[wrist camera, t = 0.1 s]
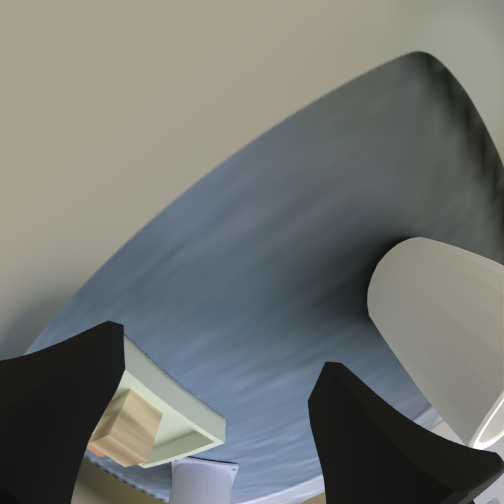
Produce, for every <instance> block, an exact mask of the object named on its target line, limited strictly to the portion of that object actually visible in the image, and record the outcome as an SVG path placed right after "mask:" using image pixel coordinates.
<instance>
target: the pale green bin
mask: <svg viewBox="0 0 504 504" xmlns="http://www.w3.org/2000/svg"><path fill="white" fill-rule="evenodd" d="M124 353H125V371H124V374H123V376H122V379H121V381H120V384H119V386H118V389H117V391H116V393H115V394H114V396H113V398H112V400H114V399H115V398H117V397H119V396H120V395H122V394H123V393H125V392H127V391H128V390H130V389H132V390H133V391H134V392H136V393H137V394H138V395H139V396H140V397H142V398H143V399H144V400H145V401H147V402H148V403H149V404H150V405H152V406H153V407H154V408H156V409H157V410H158V411H160V412H161V413H162V414H163V415H162V418H161V422H160V425H159V428H158V431H157V435H156V438H155V441H154V445H153V448H152V451H151V455H150V458H149V461H147V462H144V463H140V464H138V465H140V466H141V467H143V468H149V467H153V466H156V465H160V464H164V463H167V462H171V461H174V460H177V459H181V458H184V457H187V456H190V455H193V454H196V453H199V452H202V451H204V450H207V449H210V448H213V447H215V446H218V445H220V444H223V443H225V428H226V419H225V418H223V417H222V416H220V415H219V414H218V413H216V412H215V411H213V410H212V409H211V408H209V407H208V406H207V405H205V404H204V403H203V402H201V401H200V400H199V399H197V398H196V397H195V396H193V395H192V394H191V393H190V392H188V391H187V390H186V389H184V388H183V387H182V386H181V385H180V384H178V383H177V382H176V381H175V380H173V379H172V378H171V377H170V376H169V375H168V374H166V373H165V372H164V371H163V370H162V369H161V368H160V367H158V366H157V365H156V364H155V363H154V362H153V361H152V360H151V359H149V358H148V357H147V356H146V355H145V354H144V353H143V352H142V351H141V350H140V349H139V348H138V347H137V346H136V345H135V344H134V343H133V342H132V341H131V340H130V339H129V338H128V337H127V336H126V335H125V334H124ZM112 400H111V401H112ZM111 401H110V402H111ZM109 404H110V403H109ZM108 406H109V405H108ZM105 411H106V410H105ZM104 413H105V412H104ZM103 415H104V414H103ZM102 417H103V416H102ZM102 417H101V419H102ZM101 419H100V421H101ZM100 421H99V423H100ZM99 423H98V425H99ZM98 425H97V426H96V428H95V430H94V432H93V434H94V433H95V431H96V429H97V427H98Z"/></svg>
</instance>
